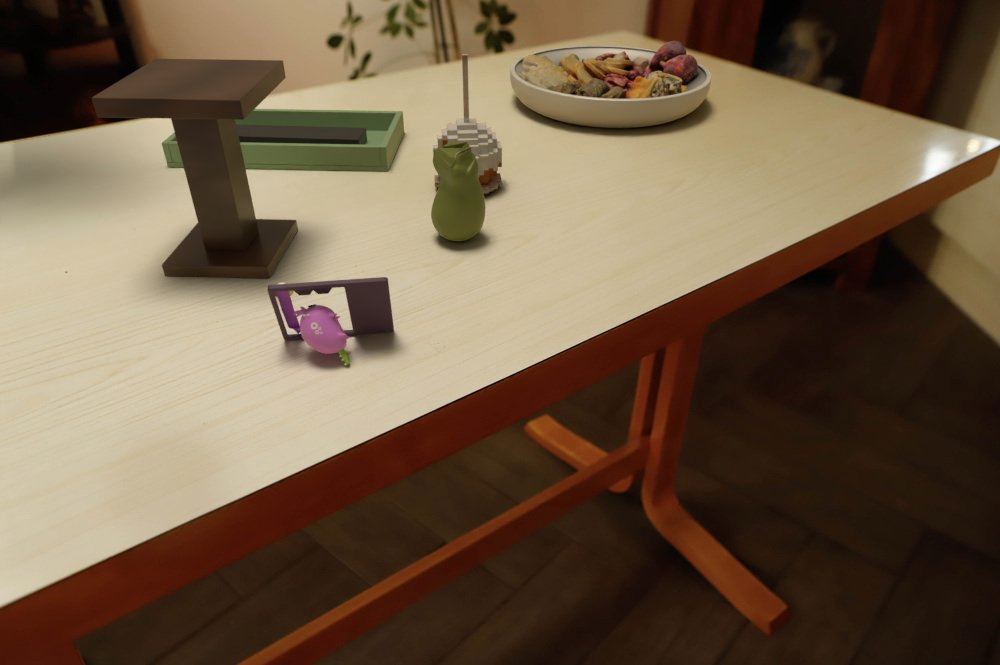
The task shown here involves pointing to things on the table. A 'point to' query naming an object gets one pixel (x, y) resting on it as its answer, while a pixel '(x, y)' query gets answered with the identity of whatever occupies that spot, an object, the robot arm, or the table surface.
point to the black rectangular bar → (301, 134)
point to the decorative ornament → (474, 141)
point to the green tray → (372, 156)
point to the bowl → (611, 84)
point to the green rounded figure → (457, 193)
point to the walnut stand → (209, 157)
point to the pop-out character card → (322, 323)
